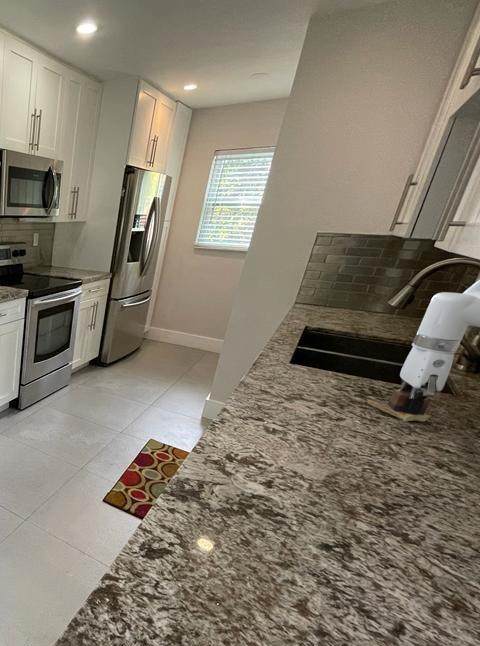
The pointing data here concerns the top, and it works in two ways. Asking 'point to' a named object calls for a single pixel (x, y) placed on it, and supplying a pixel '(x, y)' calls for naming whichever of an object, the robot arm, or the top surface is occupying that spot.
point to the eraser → (400, 398)
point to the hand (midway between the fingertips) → (405, 408)
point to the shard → (399, 414)
